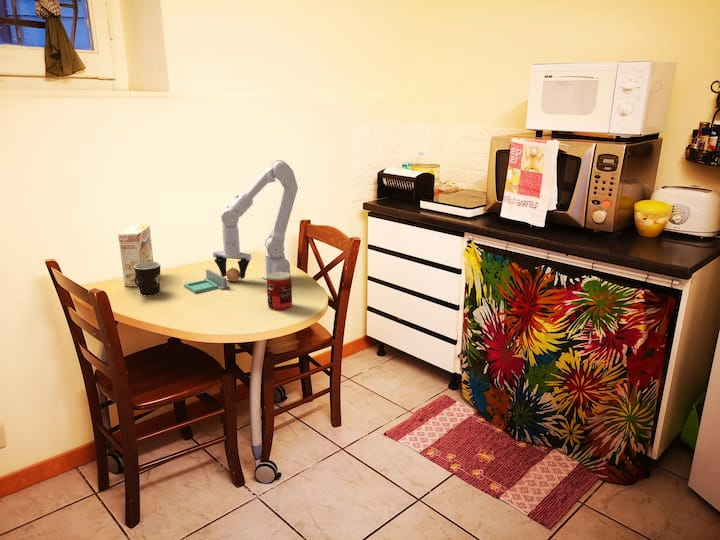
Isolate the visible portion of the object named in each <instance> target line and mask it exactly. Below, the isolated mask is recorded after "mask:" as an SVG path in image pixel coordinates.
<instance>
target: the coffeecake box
mask: <svg viewBox="0 0 720 540" xmlns="http://www.w3.org/2000/svg"><path fill="white" fill-rule="evenodd" d="M117 236H118V242H119V251H120V259H121V267H122V274H123V283H124V284H123V285H136V284H135V276H136V274H135V270H134V266H135V265H137V264H139V263H144V262H154V255H153V246H152V244H153V243H152V237H151V226H150V224H140V225H139V224H134V225H130V226H129V227H127V228H125V229H124V230H123V231H121V232H120V233H118V235H117ZM137 283H138V282H137Z"/></svg>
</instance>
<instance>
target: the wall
mask: <svg viewBox="0 0 720 540" xmlns="http://www.w3.org/2000/svg"><path fill="white" fill-rule="evenodd" d="M205 274H206V275H205V276H206V278H204V279H203V280H206V279H208V280H209V281H211V282H213V283H215V284H217V285H218V287H219V290H221V291H224V290H227V289H230V286H229V285H227V284H228V282H227V277H226V276H225V277H223V276H222V275H220V274H219V273H217V272H215V271H213V270H211V269H205Z"/></svg>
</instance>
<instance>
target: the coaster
mask: <svg viewBox="0 0 720 540" xmlns="http://www.w3.org/2000/svg"><path fill="white" fill-rule="evenodd" d="M205 279H206V278H205ZM183 287H184V288H185V289H186V290H189V291H190V292H192V293H193V294H199V293H204V292H209V291H212V290H216V289H220V287H219V286H218V285H217V284H215V283H213V282H211V281H209V280H208V279H206V280H204V279H201V280H198V281H192V282H188V283H185V284H183Z"/></svg>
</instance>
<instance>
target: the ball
mask: <svg viewBox="0 0 720 540" xmlns="http://www.w3.org/2000/svg"><path fill="white" fill-rule="evenodd" d="M226 279H227V280H229V281H230V282H233V283H234V282H237V281H239V280H240V279H241V278H240V269H237V268H235V267H232V268H230V269H228V270H227V271H226Z"/></svg>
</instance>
